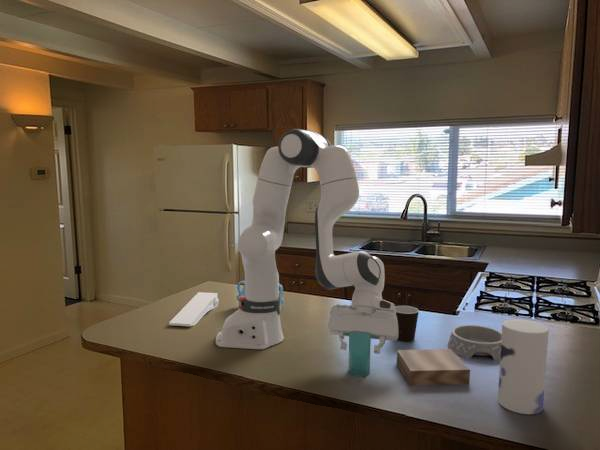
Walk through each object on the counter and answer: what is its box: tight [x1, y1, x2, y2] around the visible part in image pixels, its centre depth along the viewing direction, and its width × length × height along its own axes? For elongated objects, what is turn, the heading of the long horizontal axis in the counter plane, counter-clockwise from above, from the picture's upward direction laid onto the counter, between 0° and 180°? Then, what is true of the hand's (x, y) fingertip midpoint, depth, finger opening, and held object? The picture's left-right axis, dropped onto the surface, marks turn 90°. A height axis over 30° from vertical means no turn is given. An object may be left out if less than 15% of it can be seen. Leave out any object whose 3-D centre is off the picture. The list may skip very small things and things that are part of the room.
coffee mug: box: [395, 305, 420, 343], centre depth 159 cm, size 12×9×10 cm
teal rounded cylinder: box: [348, 331, 372, 377], centre depth 132 cm, size 6×6×11 cm
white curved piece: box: [168, 291, 219, 327], centre depth 182 cm, size 10×7×28 cm
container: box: [497, 318, 550, 415], centre depth 114 cm, size 10×10×20 cm
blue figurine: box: [236, 280, 285, 305], centre depth 189 cm, size 16×16×14 cm
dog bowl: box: [446, 324, 502, 361], centre depth 149 cm, size 17×18×5 cm
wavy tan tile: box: [396, 348, 471, 386], centre depth 132 cm, size 16×14×4 cm
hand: (359, 350), depth 132 cm, fingers open, 8 cm apart
